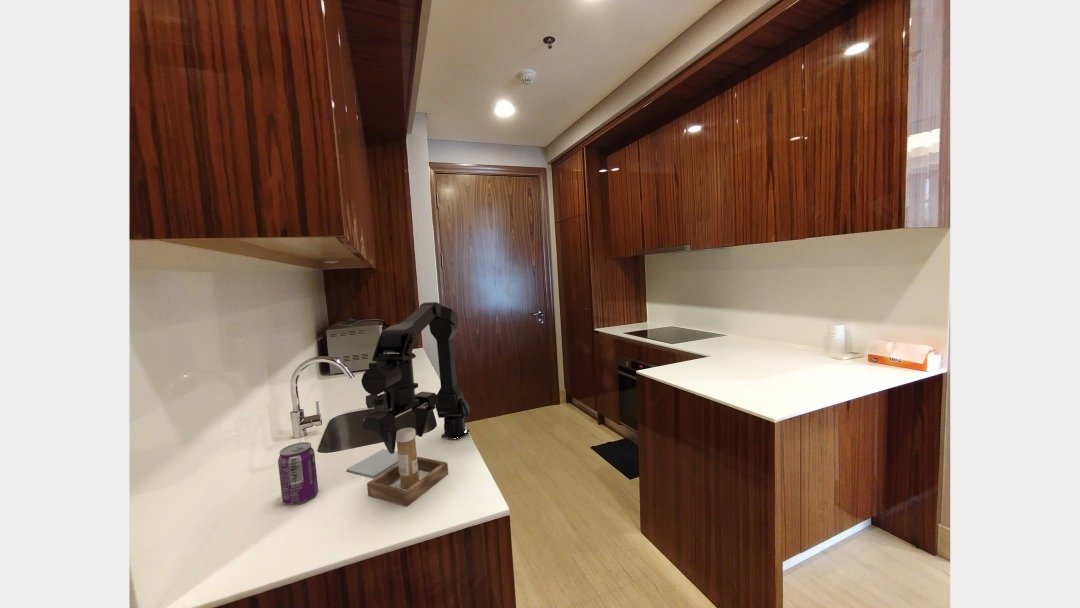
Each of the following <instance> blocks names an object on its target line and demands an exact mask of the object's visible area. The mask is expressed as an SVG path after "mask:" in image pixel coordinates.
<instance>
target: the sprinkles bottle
mask: <svg viewBox="0 0 1080 608" xmlns="http://www.w3.org/2000/svg"><path fill="white" fill-rule="evenodd" d="M416 435H417V431H416V429H415V428H414V427H404V428H400V429H399V430H398V429H397V434H396V448H397V451H396V452H398V453H397V454H398V463H397V464H398V465H399V474H400V477H399V479H400V481H399V482H400V483H399V486H400V489H404V490H407V489H408V488H410V487H411V486H412V485H414V484H415V483H416V482H418V481H419V480H420V474H419V470H418V462H417V457H418V453H417V445H416V437H417V436H416Z"/></svg>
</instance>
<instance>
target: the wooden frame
mask: <svg viewBox="0 0 1080 608" xmlns="http://www.w3.org/2000/svg"><path fill="white" fill-rule="evenodd" d="M417 462H418V471H421V470H422V472H425V471H426V472H425V473H428V474H426V475H425V476H423V477H422V478H419V481H418V482H416V483H415V484H414V485H412V486H411V487H410V488H408V489H403V488H401V487H400V488H399V487H395V486H391V485H390V484H392V483H393V482H394V481H396V480H398V479H400V474H399V465H398V463H397V464H396V465H394V466H393V467H391V468H389V469H388V470H386V471H385V472H383V473H382V474H380V475H378V476H377V477H375V478H372V479H371V480H369V481H368V482H367V483H366V488H367V496H368V497H372V498H376V499H378V500H383V501H387V502H390V503H393V504H395V505H396V504H397V505H401V506H402V507H403V506H404V507H409V506H410V505H411V504H413V503H414V502H416V501H417V500H418V499H419V498H420V497H422V495H424V494H425V493H427V492H428V491H430V489H432V488H433V487H434V486H435V485H437V484H438V483H439V482H440V481H441V480H442V479H444V478H445V477H447V476H448V475H449V466H448V465H449V464H448V462H446V461H441V460H436V459H431V458H426V457H421V456H417Z"/></svg>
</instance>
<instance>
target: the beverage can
mask: <svg viewBox="0 0 1080 608" xmlns="http://www.w3.org/2000/svg"><path fill="white" fill-rule="evenodd" d="M315 455H316V454H315V450H314V448H313V447H312V443H311V442H308V441H301V442H296V443H293V444H290V445H288V446H285V447H283V448H282V449H280V451H279V457H278V458H277V466H278V475H279V484H280V490H281V491H280V492H281V500H282V501H281V502H283V503H284V504H288V505H289V504H290V505H291V504H292V505H296V504H300V503H303V502H306V501H308V500H309V499H311V498H312V497H313V496H315V495H316V494H317V493H318V491H319V484H318V474H317V465H316V456H315Z"/></svg>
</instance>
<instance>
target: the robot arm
mask: <svg viewBox="0 0 1080 608" xmlns="http://www.w3.org/2000/svg"><path fill="white" fill-rule="evenodd" d="M458 325H459V315H458V314H457V312H455V310H454V309H452V308H450V307H447V306H444V305H442V304H441V303H439V302H437V301H432V302H431V301H426V302H422V303H421V304H420V305H419V307H418V308H417V309H416V310H415V311H414V312H412V313H411V314H410V315H409V316H408V317H406V319H405V320H403V321H402V322H400V323H398V324H394V325H391V326H389V327H387V328H385V329H383V330H382V331H381V333H380V334H379V337H378V340H377V343H376V346H375V350H374V352H373V355H372V358H371V362H369V363H368V369H367V370H365V371H364V372H363V374H362V378H361V386H362V388H363V390H364V391H365V392H367V393H368V395H366V396H365V404H366V408H368V409H369V410H371V409H373V410H374V412H373V413H370V414H368V415H366V416H364V418H363V419H362V426H363V428H362V429H363V430H365V431H370V432H374V433H376V434H377V435H378V436H379V437H380V438H381V440H382V443H384V445H385V447H386V450H388V451H389V453H390V454H393V453H394V451H395V450H396V445H397V442H396V434H397V431H398V426H396V423H397V420H396V419H397V418H399V417H401V416H402V415H405V414H407V413H408V412H411V411H412V413H413V414H414V419H415V420H414V421H415V426H416V435H417V436H418V437H420V438H421V437H423V436H424V432H425V430H426V427H427V426H428V423H429V420H430V418H431V416H432V414H433V412H434V410H436V412H437V413H436V414H437V417H438V419H440V418H441V419H442V418H443V430H444V432H443V433H442V434H441V438H444V437H448V438H447V439H450V438H456V439H458V438H460V437H461V436H462V437H464V436H465V435H466V434H465V433H464V431H465V429H466V430H467V432H468V433H469V432H470V431H471V430H470V429H467V428H466V418H467V417H469V416H470V405H469V404H468V402H467V400H466V399H465V395H464V392H463V389H462V388H461V387H460V386H459V384H458V382H457V370H456V359H455V347H454V338H455V335H456V333H457V331H458ZM427 326H428V328H429V332H430V334H431V335H432V337H433V338H434V339H435V341H436V349H437V358H438V359H437V360H438V371H439V381H440V383H439V384H440V388H439V391H437V394H436V392H431V391H429V392H428V391H420V392H418V393H416V390H415V389H417V388H419V383H418V382H414V380H415V377H414V367H413V359H414V358H415V359H416V356H417V355H416V354H415V353H413V350H414V348H415V347H416V345H418V342H419V340H418V336H419V335H420V334H421V332H423V330H425V329H426V327H427ZM382 408H383V409H384V410H389V411H388V412H387V411H380V410H379V409H382ZM377 410H378V411H377ZM464 427H465V428H464ZM463 435H464V436H463ZM457 437H458V438H457ZM462 437H461V438H462ZM461 438H460V439H461ZM456 439H455V440H456ZM458 440H459V439H458ZM395 452H396V451H395Z"/></svg>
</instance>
